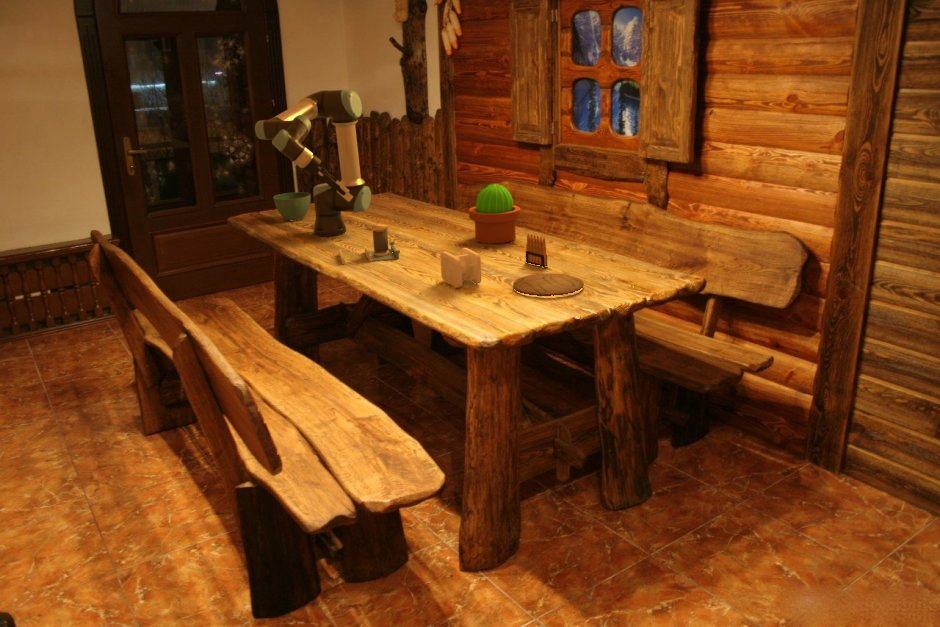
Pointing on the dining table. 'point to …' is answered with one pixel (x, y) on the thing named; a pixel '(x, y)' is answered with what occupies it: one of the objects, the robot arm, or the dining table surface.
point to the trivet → (548, 284)
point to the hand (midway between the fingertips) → (349, 196)
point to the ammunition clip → (536, 251)
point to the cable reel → (380, 240)
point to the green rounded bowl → (292, 205)
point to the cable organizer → (461, 267)
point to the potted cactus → (494, 215)
